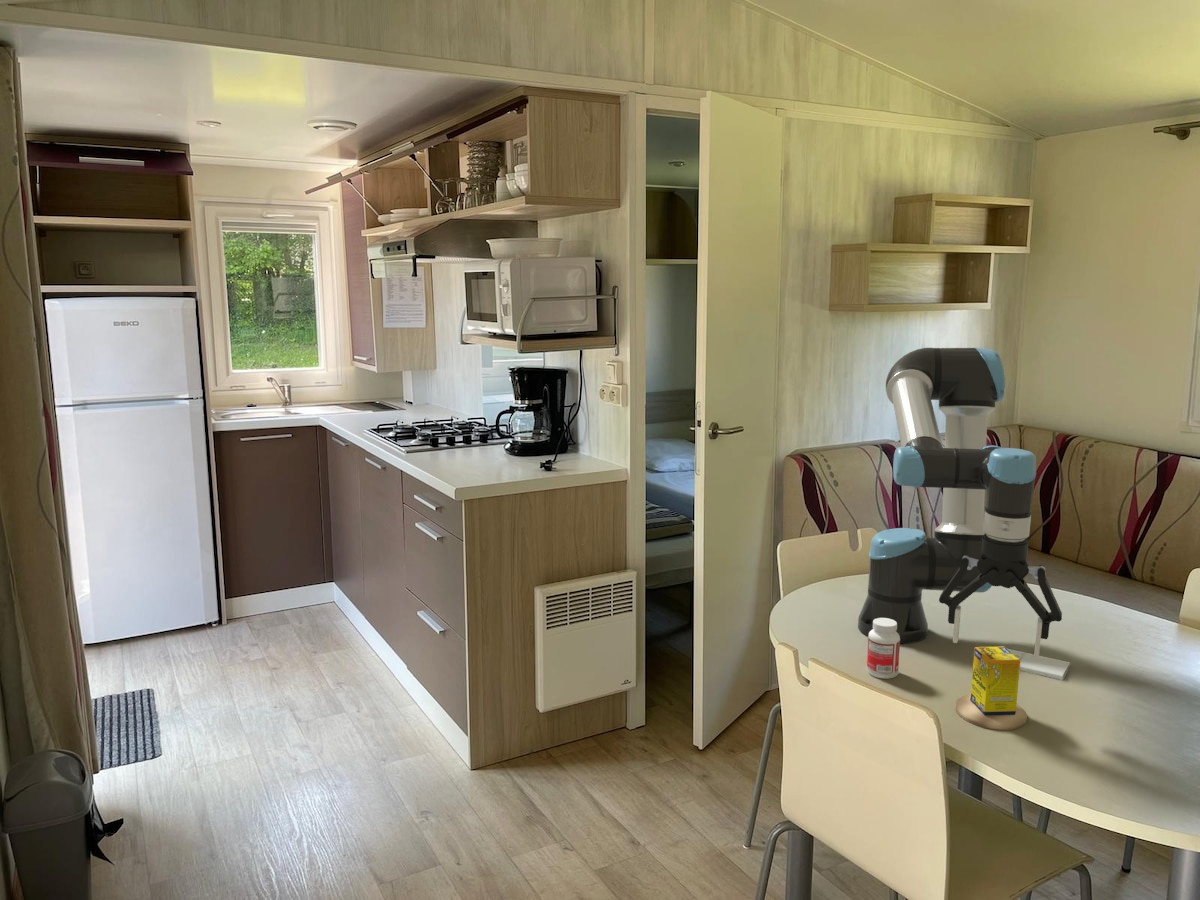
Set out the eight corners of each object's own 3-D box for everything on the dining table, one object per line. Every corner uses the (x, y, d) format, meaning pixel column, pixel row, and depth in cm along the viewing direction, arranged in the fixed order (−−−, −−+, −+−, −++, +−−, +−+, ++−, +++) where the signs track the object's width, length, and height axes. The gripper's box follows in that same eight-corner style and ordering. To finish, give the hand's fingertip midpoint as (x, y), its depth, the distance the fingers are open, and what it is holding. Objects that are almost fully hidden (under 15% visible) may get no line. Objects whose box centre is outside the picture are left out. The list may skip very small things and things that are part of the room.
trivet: (952, 720, 163) (952, 715, 162) (959, 694, 173) (959, 689, 173) (1024, 735, 157) (1025, 730, 157) (1027, 707, 168) (1027, 702, 167)
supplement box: (969, 701, 168) (973, 646, 166) (1000, 700, 168) (1005, 645, 166) (984, 716, 162) (988, 659, 160) (1016, 715, 162) (1021, 659, 160)
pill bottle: (882, 664, 186) (885, 614, 184) (904, 675, 181) (907, 624, 179) (859, 670, 184) (862, 619, 182) (881, 681, 178) (884, 629, 176)
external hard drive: (1062, 683, 179) (996, 667, 186) (1069, 668, 185) (1005, 654, 193) (1062, 675, 179) (996, 659, 186) (1070, 661, 185) (1006, 646, 192)
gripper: (928, 532, 161) (920, 642, 165) (1085, 552, 150) (1072, 668, 154) (934, 521, 167) (926, 627, 172) (1084, 539, 156) (1072, 651, 161)
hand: (995, 647), depth 163 cm, fingers open, 13 cm apart
